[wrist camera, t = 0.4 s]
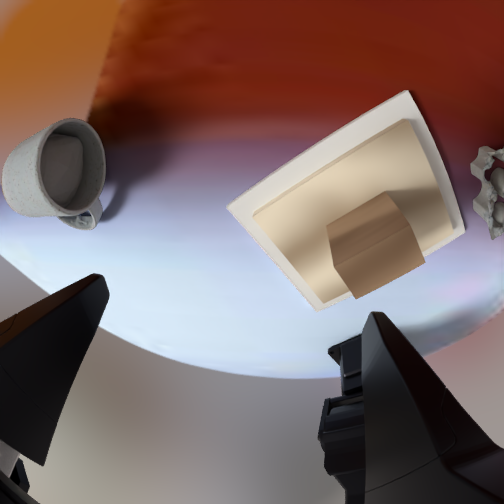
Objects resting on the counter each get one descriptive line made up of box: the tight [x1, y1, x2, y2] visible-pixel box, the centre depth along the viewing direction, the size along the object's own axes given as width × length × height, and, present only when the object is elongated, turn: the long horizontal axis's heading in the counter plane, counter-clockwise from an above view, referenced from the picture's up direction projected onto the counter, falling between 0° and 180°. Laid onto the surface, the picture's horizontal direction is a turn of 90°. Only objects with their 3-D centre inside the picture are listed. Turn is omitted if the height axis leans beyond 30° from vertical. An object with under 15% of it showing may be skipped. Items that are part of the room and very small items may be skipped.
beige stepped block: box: [252, 118, 454, 304], centre depth 17 cm, size 10×13×6 cm
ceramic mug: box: [1, 118, 106, 230], centre depth 18 cm, size 11×8×8 cm
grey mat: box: [226, 90, 465, 312], centre depth 20 cm, size 13×16×1 cm
